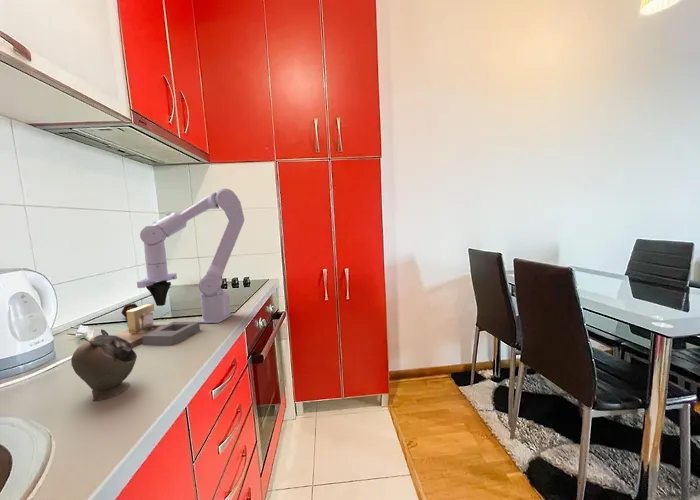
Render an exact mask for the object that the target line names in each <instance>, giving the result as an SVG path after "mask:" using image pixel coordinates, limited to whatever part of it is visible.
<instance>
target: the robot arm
mask: <svg viewBox="0 0 700 500" xmlns="http://www.w3.org/2000/svg"><path fill="white" fill-rule="evenodd" d="M241 203H242V201H241V200H240V199H239V197H238V195H236V194H235V192H234V191H233V190H232V189H230V188H221V189H220V190H217V192H212V193H210V194H209V195H207V196H205V197H203V198H202V199H201V200H199V201H197V202H195V203H194V204H193V205H191V206H190V207H187V208H186V209H184V210H183V211H182V212H178V211H173V212H168V213H166V215H165V217H163V218H162V219H159V220H158V221H157V220H155V221H153V222H152V224H153V225H145V227H144V228H142V229H141V230H140V233H139V238H140V240H141V241H142V242H143V247H144V249H143V250H144V260H145V268H146V277H145V278H144V279H141V280H138V281H136V285H137V289H145V288H146V289H147V291H148V292H149V293H150V295H151V296H152V297H153V300H154V302H155V305H156V306H157V307H158V306H159V307H163V306H165V305H166V302H167V296H168V292H169V289H170V288H171V285H172V282H171V281H172V280H177V279H178V276H177V273H176V272H175V273H173V272H172V273H168V272H169V271H168V262H167V254H166V247H165V240H166V239H167V238H170V237H171V236H173V235H174V234H176V233H178V232H180V231H181V230H183V229H184V228H186V227H187V224H188V223H187V222H188V221H190V220H191V219H194V218H195V217H198V216H199V215H201V214H202V213H205V212H206V211H208V210H212V209H213V210H214V209H217V210H218V209H220V208H221V209H222V210H223V212H224V214H225V216H226V217H227V219H228V221H227V225H226V227H225V229H224V232H223V234H222V237H221V239H220V242H219V244H218V247H217V248H216V252H215V254H214V256H213V258H212V261H211V263H210V266H209V267H208V270H207V272H206V274H205V275H204V276H203V277H202V278H201V279H200V280H199V282H198V289H199V291H200V293H199V294H200V306H201V315H202V318H201V319H198V320H197V321H196V322H199V324H219V323H221V322H223V321H225V320H226V319H228V318H230V317H232V316H233V315H234V313H233V312H232V311H231V299H230V298H231V297H230V295H229V293H228V292H226V291H224V290H223V288H222V287H221V286H222V285H223V274H224V273H225V270H226V267H227V264H228V262H229V259H230V257H231V255H232V252H233V250H234V247H235V244H236V243H237V240H238V238H239V235H240V232H241V230H242V228H243V226H244V223H245V216H244V212H243V208H242V204H241Z"/></svg>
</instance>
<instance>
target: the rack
mask: <svg viewBox="0 0 700 500" xmlns="http://www.w3.org/2000/svg"><path fill="white" fill-rule="evenodd" d="M164 325H165V326H163V327H161V328H158V329H156V330H154V331H152V332H150V333H147V334H145V335H143V336H142V338H143V343H142V345H144V346H145V345H149V346H150V345H151V346H173V345H175V344H178V343H179V342H181V341H183V340H185V339H186V338H189V336H192V335H194V334H196V333H197V332H199V331H201V326H200V323H199V322H197V321H172V322H170V323H168V324H164Z"/></svg>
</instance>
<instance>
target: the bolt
mask: <svg viewBox="0 0 700 500" xmlns="http://www.w3.org/2000/svg"><path fill="white" fill-rule="evenodd" d="M137 307H139V306H138V305H137V304H136V303H134V302H133V303H128V304H127V303H126V304H125V305H124V306H123V308H122V310H121V311H120V312H121V314H122V316H124V318H125V320H126V322H128V320H127V312H126V311H129V310H132V309H134V308H137Z"/></svg>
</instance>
